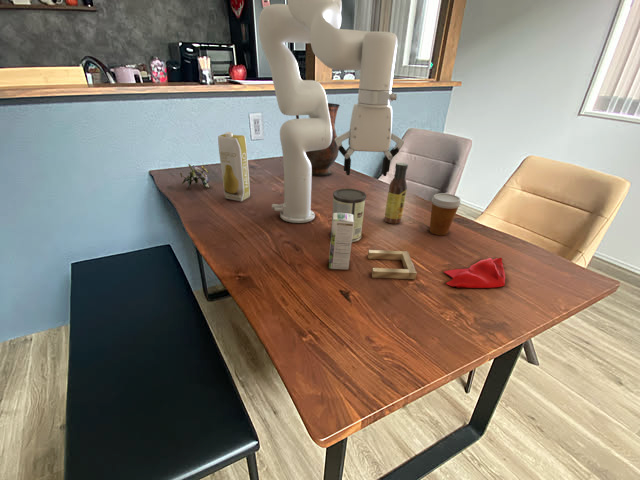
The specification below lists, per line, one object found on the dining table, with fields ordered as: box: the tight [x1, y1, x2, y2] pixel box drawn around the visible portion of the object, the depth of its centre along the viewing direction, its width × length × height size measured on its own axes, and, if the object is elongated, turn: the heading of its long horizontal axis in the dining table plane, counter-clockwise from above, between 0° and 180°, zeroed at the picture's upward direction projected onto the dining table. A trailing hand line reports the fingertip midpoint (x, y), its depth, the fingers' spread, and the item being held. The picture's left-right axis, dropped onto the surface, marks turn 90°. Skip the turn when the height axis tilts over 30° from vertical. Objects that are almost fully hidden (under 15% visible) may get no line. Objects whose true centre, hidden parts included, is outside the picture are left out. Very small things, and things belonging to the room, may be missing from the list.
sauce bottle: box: [384, 162, 409, 224], centre depth 128 cm, size 7×6×20 cm
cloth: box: [443, 257, 506, 289], centre depth 103 cm, size 26×14×2 cm, turn 120°
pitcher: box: [295, 102, 341, 177], centre depth 168 cm, size 17×21×30 cm
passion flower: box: [179, 163, 210, 189], centre depth 151 cm, size 11×11×12 cm
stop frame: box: [367, 249, 418, 280], centre depth 105 cm, size 12×13×2 cm
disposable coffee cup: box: [428, 192, 462, 236], centre depth 124 cm, size 10×10×12 cm
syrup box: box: [328, 213, 354, 271], centre depth 101 cm, size 6×6×14 cm
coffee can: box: [330, 188, 367, 243], centre depth 117 cm, size 10×10×14 cm
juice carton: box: [217, 131, 251, 202], centre depth 139 cm, size 9×8×24 cm
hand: (365, 174), depth 96 cm, fingers open, 9 cm apart
